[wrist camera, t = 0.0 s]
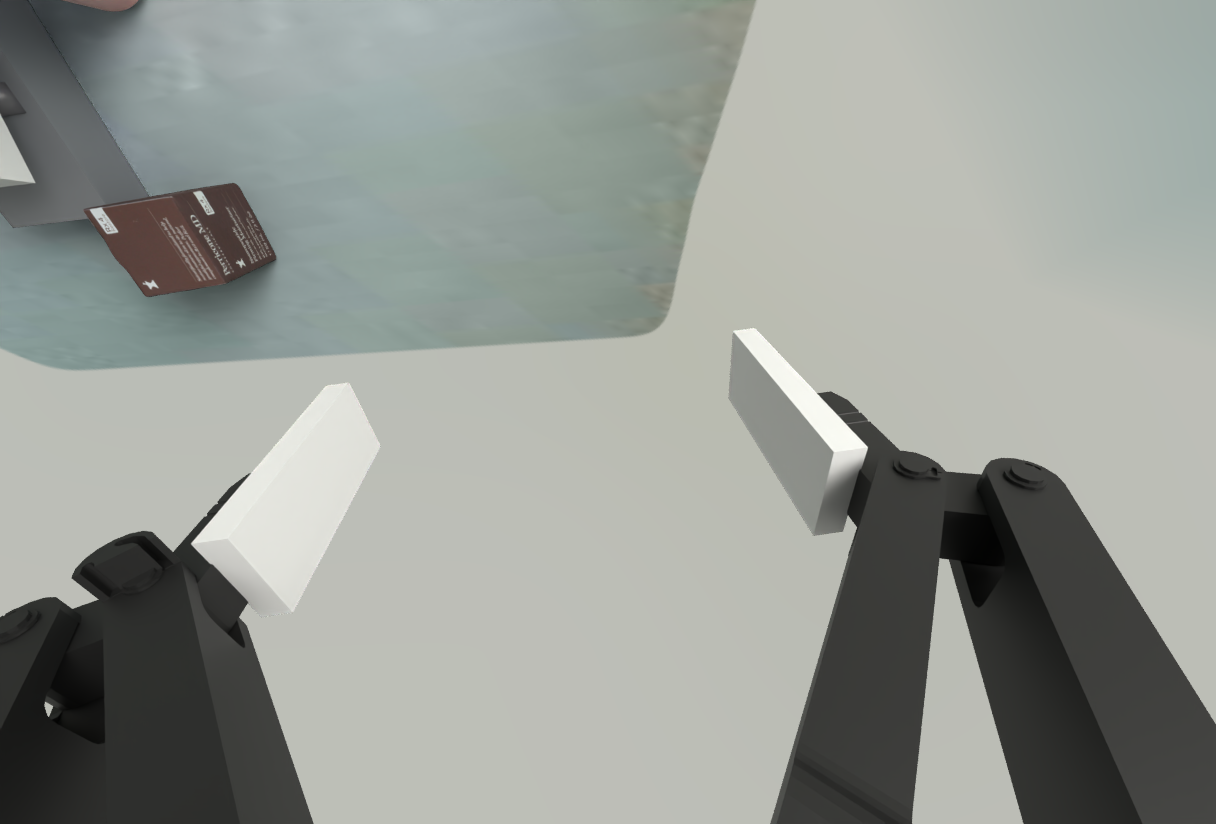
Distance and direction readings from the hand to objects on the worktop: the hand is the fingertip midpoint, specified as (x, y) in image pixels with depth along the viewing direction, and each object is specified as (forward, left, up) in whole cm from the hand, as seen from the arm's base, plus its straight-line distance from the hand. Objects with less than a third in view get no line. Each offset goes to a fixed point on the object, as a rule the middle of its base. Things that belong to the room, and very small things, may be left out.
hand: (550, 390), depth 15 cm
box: (-3, -27, -28) cm, 39 cm away
